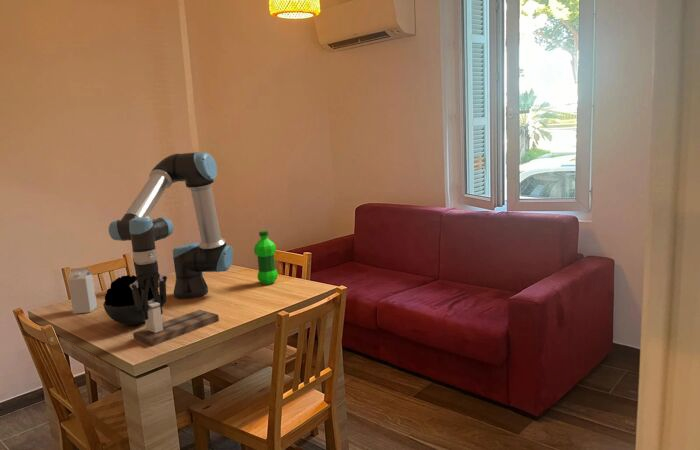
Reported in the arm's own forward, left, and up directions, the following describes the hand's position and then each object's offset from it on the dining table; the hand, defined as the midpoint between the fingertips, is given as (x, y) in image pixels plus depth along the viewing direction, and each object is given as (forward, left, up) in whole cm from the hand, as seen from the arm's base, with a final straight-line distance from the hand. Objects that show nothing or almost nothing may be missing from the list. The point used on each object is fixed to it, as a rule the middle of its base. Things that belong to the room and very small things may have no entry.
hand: (154, 325), depth 184 cm
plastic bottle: (-17, +69, -5) cm, 71 cm away
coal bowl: (-22, +4, -5) cm, 23 cm away
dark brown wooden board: (0, +9, -5) cm, 10 cm away
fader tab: (0, 0, -2) cm, 2 cm away
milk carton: (-58, +1, -5) cm, 58 cm away
